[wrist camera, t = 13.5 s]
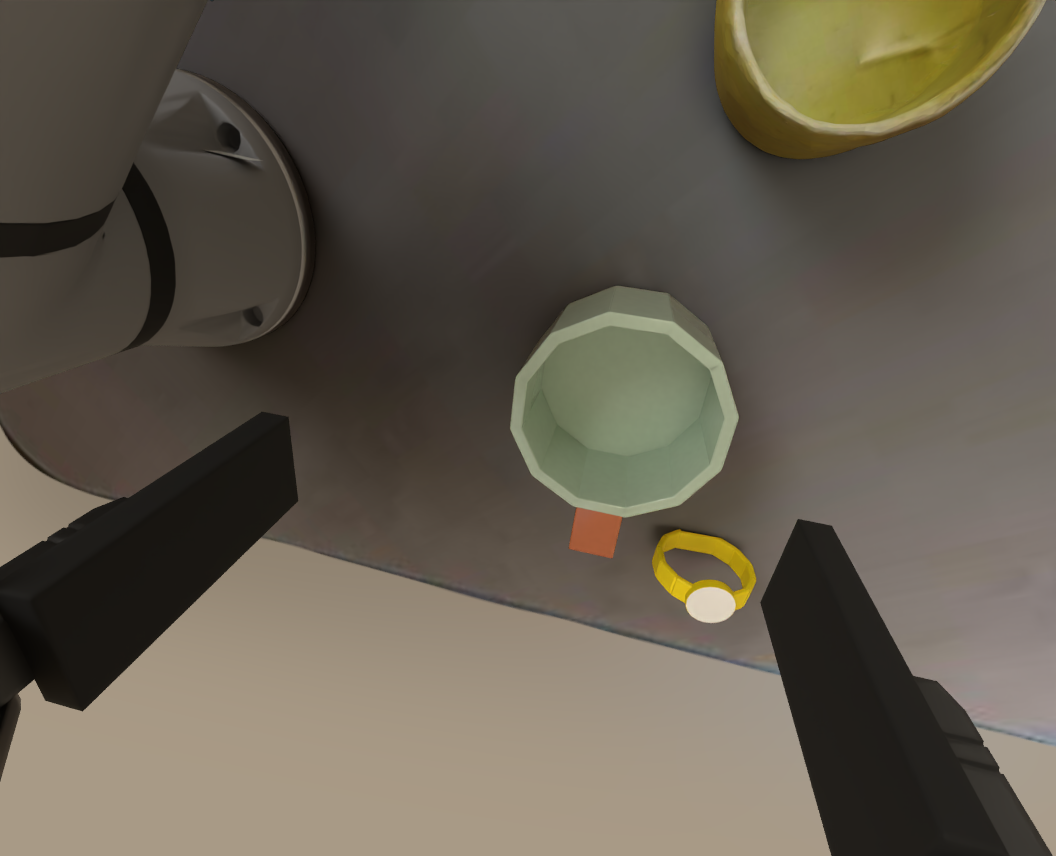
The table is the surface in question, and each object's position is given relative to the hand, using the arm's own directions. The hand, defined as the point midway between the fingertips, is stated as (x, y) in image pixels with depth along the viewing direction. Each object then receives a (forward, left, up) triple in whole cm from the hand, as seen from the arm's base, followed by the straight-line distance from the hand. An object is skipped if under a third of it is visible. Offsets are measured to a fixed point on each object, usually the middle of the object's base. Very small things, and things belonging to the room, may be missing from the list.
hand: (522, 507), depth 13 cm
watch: (+10, -13, -19) cm, 25 cm away
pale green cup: (+2, -4, -17) cm, 18 cm away
